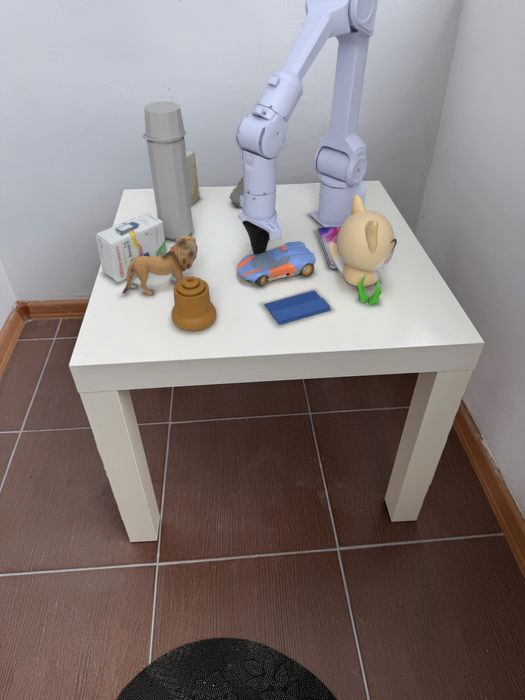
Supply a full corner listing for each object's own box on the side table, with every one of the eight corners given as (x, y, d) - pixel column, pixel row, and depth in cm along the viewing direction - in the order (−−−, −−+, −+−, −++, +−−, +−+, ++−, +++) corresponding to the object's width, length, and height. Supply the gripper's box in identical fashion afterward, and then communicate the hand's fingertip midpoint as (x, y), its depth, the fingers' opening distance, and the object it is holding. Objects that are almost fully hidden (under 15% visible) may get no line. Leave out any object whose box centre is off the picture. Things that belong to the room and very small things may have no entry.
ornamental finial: (211, 302, 89) (220, 329, 84) (169, 309, 88) (175, 336, 83) (208, 264, 84) (218, 290, 79) (163, 270, 83) (169, 297, 77)
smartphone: (330, 266, 97) (316, 227, 108) (329, 270, 97) (316, 230, 108) (367, 263, 97) (349, 225, 108) (366, 267, 98) (349, 228, 109)
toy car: (230, 269, 97) (229, 245, 94) (300, 253, 102) (301, 229, 98) (246, 292, 92) (245, 267, 88) (319, 274, 96) (321, 249, 93)
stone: (226, 206, 116) (247, 213, 116) (227, 198, 114) (248, 205, 115) (239, 179, 124) (258, 186, 125) (240, 172, 123) (260, 178, 123)
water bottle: (200, 236, 106) (189, 110, 89) (164, 245, 103) (146, 116, 86) (185, 217, 112) (172, 95, 95) (151, 225, 109) (131, 101, 92)
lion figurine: (195, 269, 97) (190, 227, 91) (205, 284, 94) (201, 241, 88) (119, 288, 92) (109, 245, 86) (126, 304, 89) (117, 261, 83)
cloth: (314, 291, 92) (314, 288, 92) (330, 310, 88) (331, 307, 88) (264, 305, 89) (264, 302, 89) (279, 325, 85) (279, 322, 85)
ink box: (148, 211, 96) (92, 232, 90) (164, 221, 94) (108, 243, 87) (153, 250, 102) (101, 272, 96) (169, 260, 100) (117, 284, 93)
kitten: (401, 303, 90) (419, 227, 80) (346, 309, 88) (358, 233, 78) (372, 258, 101) (385, 186, 90) (323, 263, 99) (331, 190, 89)
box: (200, 198, 119) (196, 151, 112) (190, 206, 116) (186, 158, 109) (181, 194, 121) (176, 147, 113) (171, 201, 118) (165, 154, 110)
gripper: (223, 176, 93) (226, 241, 102) (255, 210, 83) (255, 279, 92) (258, 169, 95) (258, 234, 104) (293, 202, 85) (290, 270, 94)
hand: (259, 255), depth 98 cm, fingers closed
